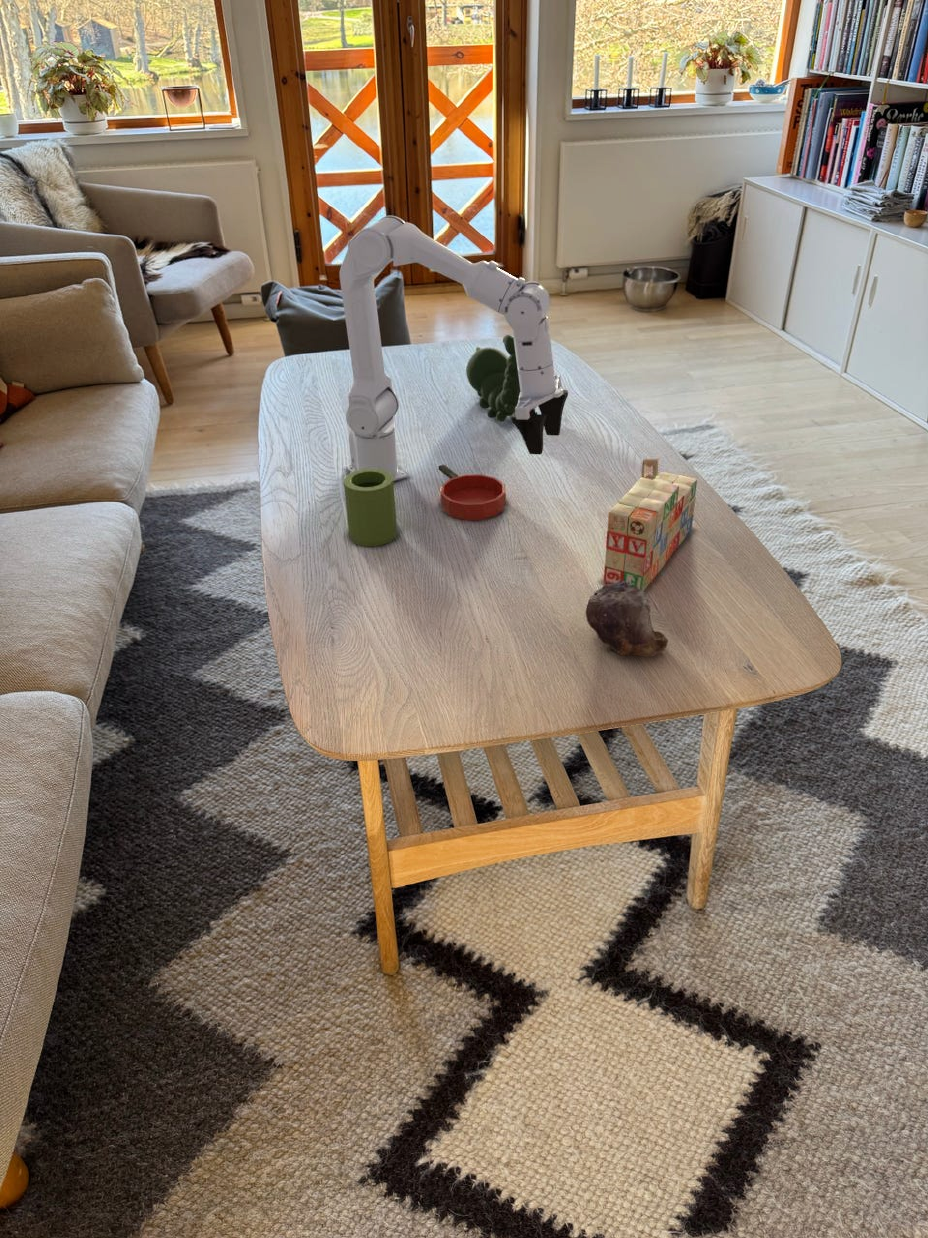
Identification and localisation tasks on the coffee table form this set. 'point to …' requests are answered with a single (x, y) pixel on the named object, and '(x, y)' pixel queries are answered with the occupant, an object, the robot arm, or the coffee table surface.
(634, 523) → the stack of blocks
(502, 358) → the toy figurine
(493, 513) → the pan
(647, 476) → the tin
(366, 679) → the coffee table surface
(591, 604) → the rock
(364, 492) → the crock
